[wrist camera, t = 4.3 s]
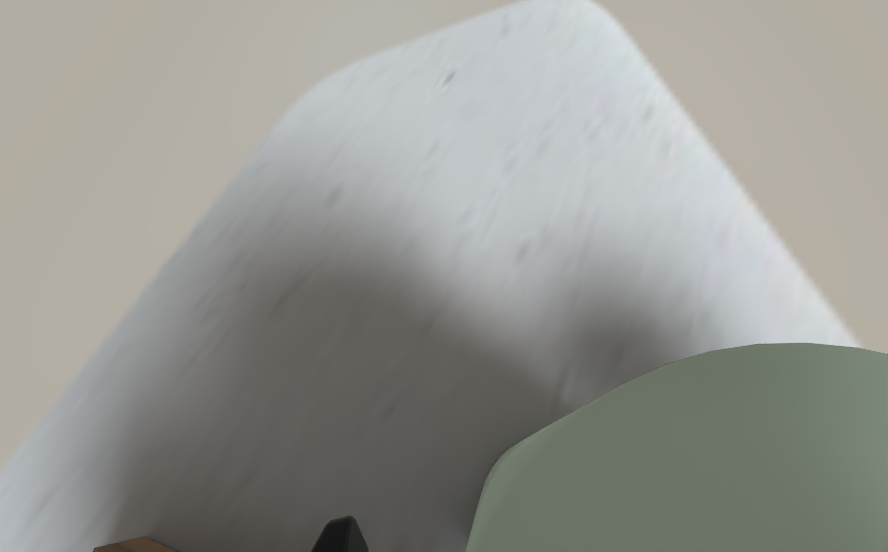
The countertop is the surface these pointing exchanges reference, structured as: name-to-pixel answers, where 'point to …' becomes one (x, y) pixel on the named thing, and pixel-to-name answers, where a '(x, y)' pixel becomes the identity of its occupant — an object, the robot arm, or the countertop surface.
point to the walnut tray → (135, 546)
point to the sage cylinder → (706, 461)
